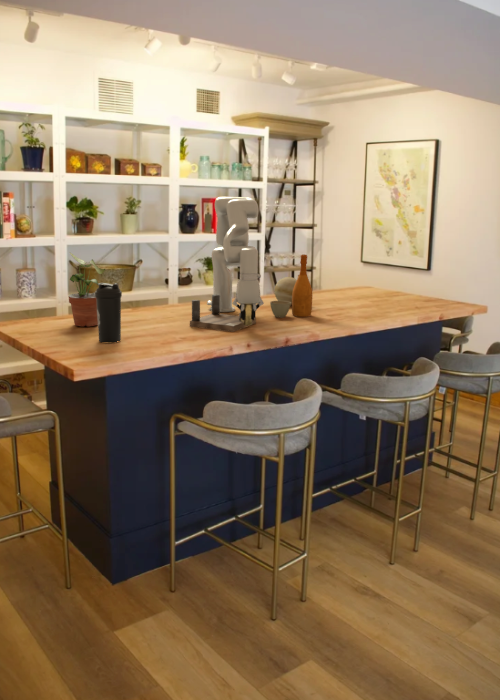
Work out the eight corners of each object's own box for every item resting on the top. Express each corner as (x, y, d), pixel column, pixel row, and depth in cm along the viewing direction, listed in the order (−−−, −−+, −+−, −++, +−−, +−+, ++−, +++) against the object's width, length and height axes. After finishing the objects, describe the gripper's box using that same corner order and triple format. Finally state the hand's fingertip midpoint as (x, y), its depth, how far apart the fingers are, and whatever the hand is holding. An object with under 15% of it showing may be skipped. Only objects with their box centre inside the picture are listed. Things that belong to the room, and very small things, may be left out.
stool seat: (189, 326, 291) (189, 300, 288) (214, 318, 310) (214, 294, 308) (233, 331, 282) (233, 305, 279) (255, 323, 301) (256, 298, 298)
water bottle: (98, 337, 265) (96, 281, 260) (124, 337, 266) (122, 281, 260) (95, 343, 255) (92, 285, 250) (121, 343, 256) (119, 285, 251)
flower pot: (288, 319, 312) (289, 304, 310) (268, 318, 314) (268, 303, 312) (291, 315, 322) (292, 301, 320) (271, 314, 324) (272, 300, 322)
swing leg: (237, 319, 293) (237, 299, 291) (245, 319, 294) (245, 299, 292) (244, 325, 281) (245, 304, 279) (252, 325, 282) (253, 304, 280)
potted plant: (77, 330, 278) (74, 247, 270) (64, 324, 290) (60, 244, 282) (111, 326, 287) (109, 246, 279) (97, 320, 299) (95, 243, 291)
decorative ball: (268, 304, 351) (269, 276, 348) (287, 301, 361) (288, 274, 358) (288, 308, 341) (289, 279, 337) (307, 305, 350) (308, 277, 347)
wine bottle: (313, 314, 324) (316, 254, 317) (308, 318, 315) (311, 255, 308) (294, 313, 327) (296, 253, 320) (289, 316, 318) (291, 254, 311)
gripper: (265, 276, 283) (264, 317, 288) (227, 276, 280) (227, 318, 284) (269, 278, 276) (268, 320, 281) (231, 278, 273) (230, 321, 277)
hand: (247, 319), depth 282 cm, fingers closed on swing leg, 3 cm apart
